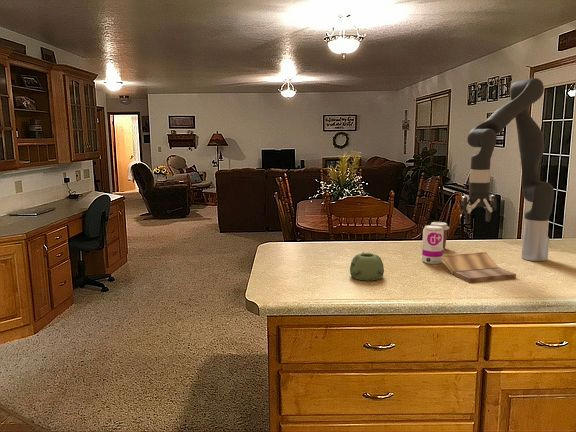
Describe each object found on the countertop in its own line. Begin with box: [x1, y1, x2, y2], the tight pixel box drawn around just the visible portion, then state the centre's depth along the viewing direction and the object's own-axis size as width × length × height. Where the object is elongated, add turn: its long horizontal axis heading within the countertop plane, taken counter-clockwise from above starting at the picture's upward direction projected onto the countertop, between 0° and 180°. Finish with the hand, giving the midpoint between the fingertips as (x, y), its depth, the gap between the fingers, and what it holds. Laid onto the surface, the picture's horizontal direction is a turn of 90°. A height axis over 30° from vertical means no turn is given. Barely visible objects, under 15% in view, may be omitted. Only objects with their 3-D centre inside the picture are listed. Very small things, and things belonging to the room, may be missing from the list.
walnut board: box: [453, 266, 517, 284], centre depth 180 cm, size 20×9×2 cm, turn 105°
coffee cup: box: [430, 221, 450, 251], centre depth 226 cm, size 9×9×12 cm
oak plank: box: [441, 251, 500, 275], centre depth 189 cm, size 20×9×2 cm, turn 105°
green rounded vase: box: [349, 251, 385, 282], centre depth 182 cm, size 16×13×9 cm
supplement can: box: [421, 224, 444, 265], centre depth 201 cm, size 8×8×15 cm
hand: (477, 222), depth 190 cm, fingers open, 8 cm apart
